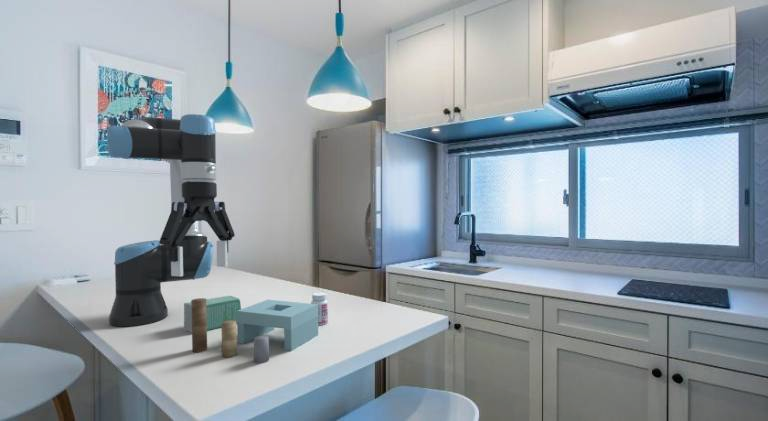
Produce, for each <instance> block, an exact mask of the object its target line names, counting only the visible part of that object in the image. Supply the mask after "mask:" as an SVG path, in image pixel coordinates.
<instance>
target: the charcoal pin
mask: <svg viewBox="0 0 768 421" xmlns="http://www.w3.org/2000/svg"><path fill="white" fill-rule="evenodd" d="M269 338H270V337H269V336H268V335H261V336H257V337H255V338H254V339H253V362H254V363H255V364H265V363H267V362H269V361H270V343H269V342H270V339H269Z"/></svg>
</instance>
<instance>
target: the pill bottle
mask: <svg viewBox="0 0 768 421" xmlns="http://www.w3.org/2000/svg"><path fill="white" fill-rule="evenodd" d="M311 299H312V300H311V302H310V304H318V326H324V325H326V324H328V323H329V322H328V321H329V319H328V318H329V313H328V312H329V311H328V310H329V309H328V307H329V306H328V305H329V302H328V300H327V292H326V293H325V292H314V293H312V295H311Z"/></svg>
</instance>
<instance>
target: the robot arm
mask: <svg viewBox="0 0 768 421" xmlns="http://www.w3.org/2000/svg"><path fill="white" fill-rule="evenodd" d="M216 134H217V130H216V122H215V119H214V118H213V117H212V116H208V115H205V114H195V113H189V114H184V115H182V116H181V117H180V119H176V118H164V117H163V118H162V117H155V116H154V117H152V116H147V117H145V116H144V117H139V118H133V119H130V120H127V121H125V122H124V123H122V124H121V125H109V126H108V127H107V130H106V144H107V145H106V146H107V153H108V155H109V156H110V157H112V158H122V159H145V160H146V159H147V160H148V159H149V160H151V159H153V160H164V161H166V162H167V163H168V164H169V177H170V178H169V179H170V180H169V181H170V196H171V197H170V202H171V204H170V205H171V207H170V208H171V209H170V214H169V216H168V218H167V221H166V224H165V226H164V229H163V231H162V233H161V236H160V239H159V240H148V241H139V242H134V243H130V244H125V245H122V246H119V247H117V248H116V250H115V252H114V253H115V254H114V263H113V265H114V270H115V271H114V272H115V273H114V275H115V298H114V301H113V303H112V307H111V309H110V313H109V316H108V321H109V322H108V323H109V326H114V327H133V326H134V327H135V326H141V325H149V324H151V323H156V322H158V321H161V320H164V319H165V318H167V317H168V316H169V312H168V306H167V304H166V301H165V299H164V296H163V294H162V290H161V288H162V287H161V284H162V283H170V282H178V281H179V282H180V281H188V280H189V281H191V280H193V281H194V280H196V279H197V280H198V279H204V278H207V277H208V276H209V275H210V273H211V270H212V264H213V257H214V256H213V255H214V247H213V246H214V245H213V242H212V241H208V235H206V234H205V233H204V232H203V229H202V221H204V222H206V223H207V224H208V226H209V227H210V228H211V230H212V231H213V232H214V234H215V236H216V237H217V238H218V240H216V267H224V268H226V267H228V266H229V263H228V260H229V259H228V253H229V241H231V240H233V238H234V237H235V231H234V228H233V227H232V224H231V221H230V218H229V216H228V214H227V211H226V204H225V202H224V201H215V199H216V197H217V196H218V195H217V194H218V192H217V191H218V190H217V189H218V188H217V183H216V182H214V181H216V180H217V162H216V160H217V159H216V158H217V156H216V155H217V154H216V149H217V148H216V143H217V142H216Z"/></svg>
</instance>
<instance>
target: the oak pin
mask: <svg viewBox="0 0 768 421" xmlns="http://www.w3.org/2000/svg"><path fill="white" fill-rule="evenodd" d="M220 328H221V329H220V330H221V356H222V357H221V358H224V359H225V358H226V359H228V358H229V359H230V358H234V357H236V356H237V355H238V339H237V324H236V321H225V322H222V323H221V327H220Z"/></svg>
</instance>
